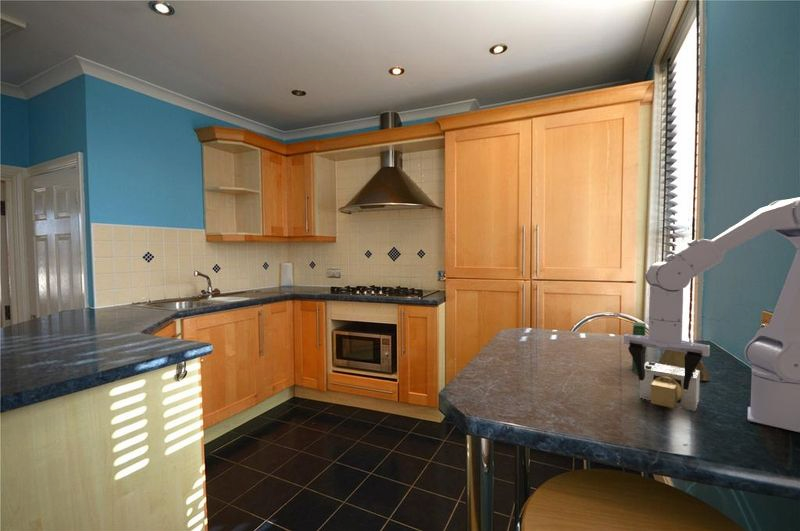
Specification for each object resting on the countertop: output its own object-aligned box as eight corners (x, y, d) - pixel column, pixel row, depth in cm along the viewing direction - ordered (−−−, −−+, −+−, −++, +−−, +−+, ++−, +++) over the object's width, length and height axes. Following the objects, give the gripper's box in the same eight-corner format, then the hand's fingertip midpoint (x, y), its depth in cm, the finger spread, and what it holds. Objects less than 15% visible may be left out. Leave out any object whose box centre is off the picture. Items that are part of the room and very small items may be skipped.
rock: (723, 372, 96) (688, 357, 106) (710, 348, 95) (676, 334, 104) (690, 398, 96) (658, 379, 106) (676, 374, 94) (645, 358, 104)
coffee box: (633, 364, 111) (634, 321, 111) (645, 366, 109) (646, 322, 109) (631, 371, 105) (632, 325, 104) (643, 373, 103) (644, 326, 102)
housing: (698, 401, 84) (699, 368, 83) (695, 411, 78) (696, 376, 78) (646, 390, 90) (646, 360, 90) (639, 398, 85) (640, 366, 85)
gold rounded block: (656, 390, 88) (656, 367, 88) (686, 397, 84) (686, 372, 84) (646, 405, 80) (646, 379, 79) (678, 413, 76) (679, 386, 76)
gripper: (620, 317, 80) (619, 379, 80) (708, 326, 70) (705, 398, 71) (628, 313, 85) (627, 372, 86) (711, 321, 75) (709, 388, 76)
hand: (663, 383), depth 78 cm, fingers open, 7 cm apart
